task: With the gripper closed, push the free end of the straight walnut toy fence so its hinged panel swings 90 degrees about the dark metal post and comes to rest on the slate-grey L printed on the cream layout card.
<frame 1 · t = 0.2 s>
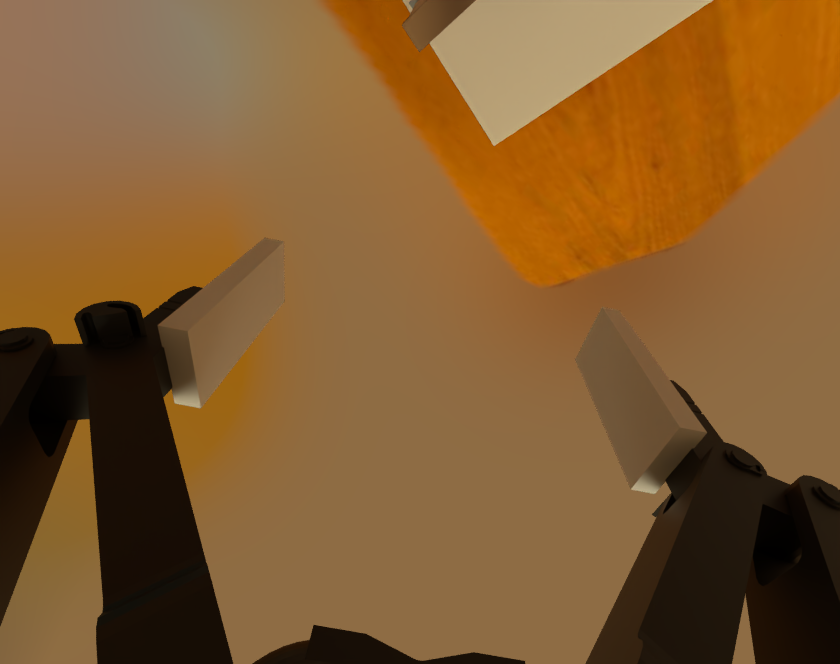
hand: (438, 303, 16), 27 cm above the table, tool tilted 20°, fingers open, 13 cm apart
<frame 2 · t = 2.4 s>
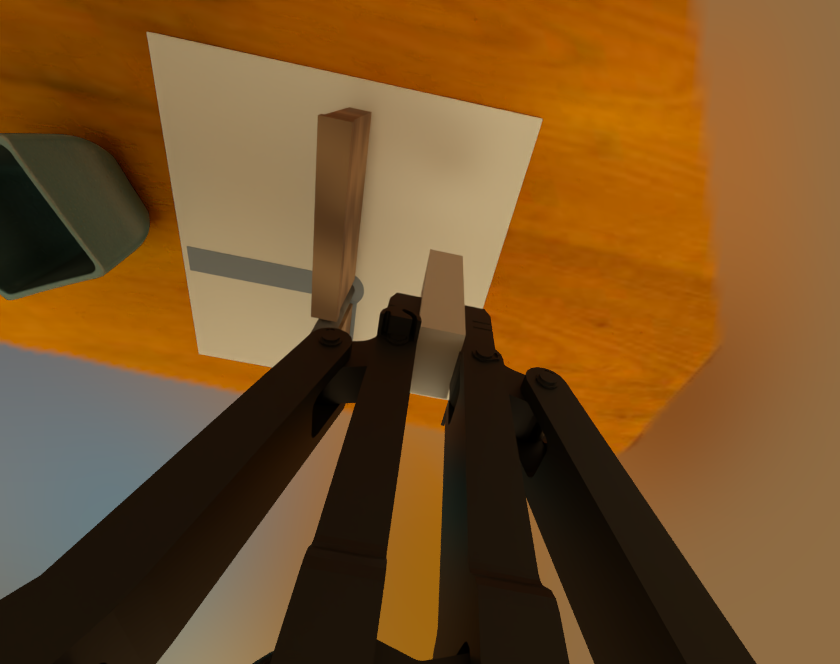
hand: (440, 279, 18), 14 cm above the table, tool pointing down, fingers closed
flower pot: (110, 191, 32), on the table
fence panel: (341, 216, 27), point 5 cm above the table, hinge at 0.0°
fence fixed: (345, 288, 34), resting on layout card
layout card: (339, 255, 33), on the table
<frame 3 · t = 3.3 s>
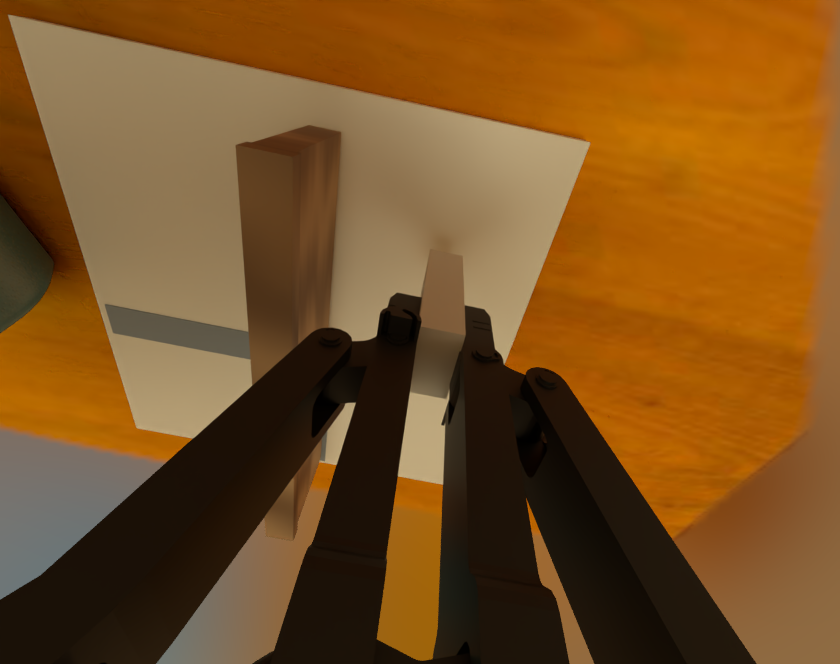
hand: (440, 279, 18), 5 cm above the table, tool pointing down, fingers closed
flower pot: (1, 232, 24), on the table
fence panel: (298, 281, 18), point 5 cm above the table, hinge at 0.0°
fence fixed: (316, 358, 26), resting on layout card
layout card: (307, 316, 25), on the table
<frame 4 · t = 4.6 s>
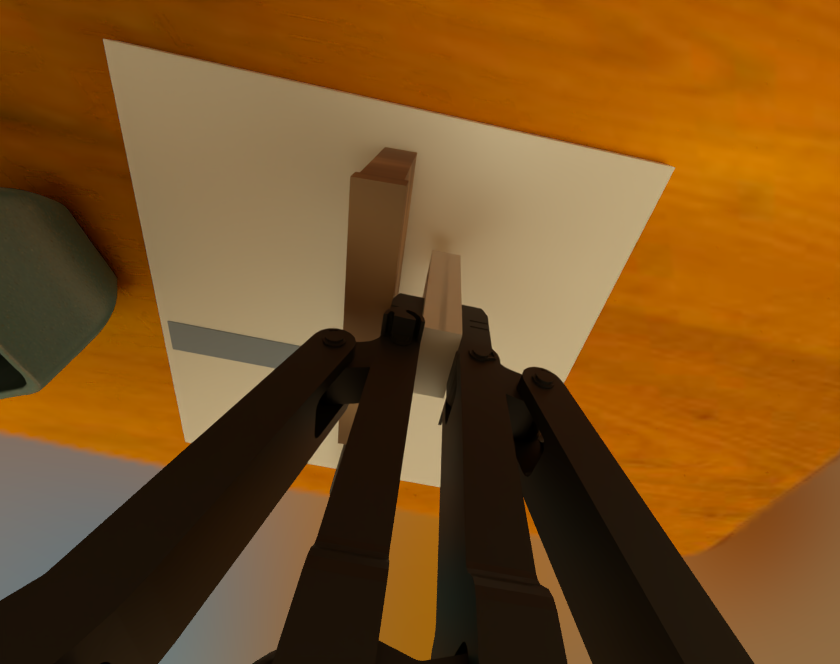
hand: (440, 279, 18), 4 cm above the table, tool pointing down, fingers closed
flower pot: (65, 249, 24), on the table
fence panel: (377, 302, 19), point 5 cm above the table, hinge at 2.5°, touching gripper
layout card: (369, 332, 25), on the table
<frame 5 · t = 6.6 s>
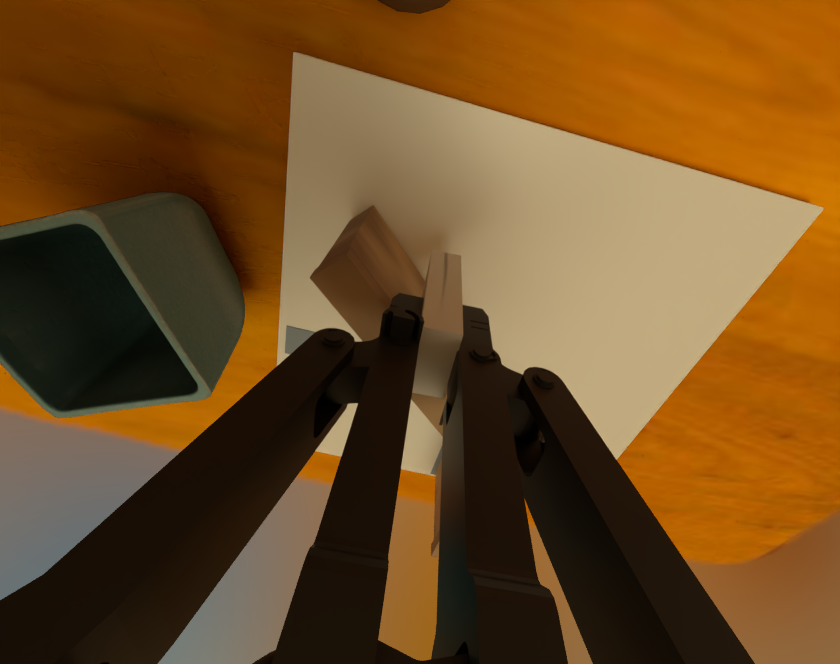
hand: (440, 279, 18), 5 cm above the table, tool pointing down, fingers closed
flower pot: (189, 250, 24), on the table
fence panel: (422, 336, 20), point 5 cm above the table, hinge at 46.2°, touching gripper
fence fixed: (484, 385, 26), resting on layout card
layout card: (481, 344, 26), on the table
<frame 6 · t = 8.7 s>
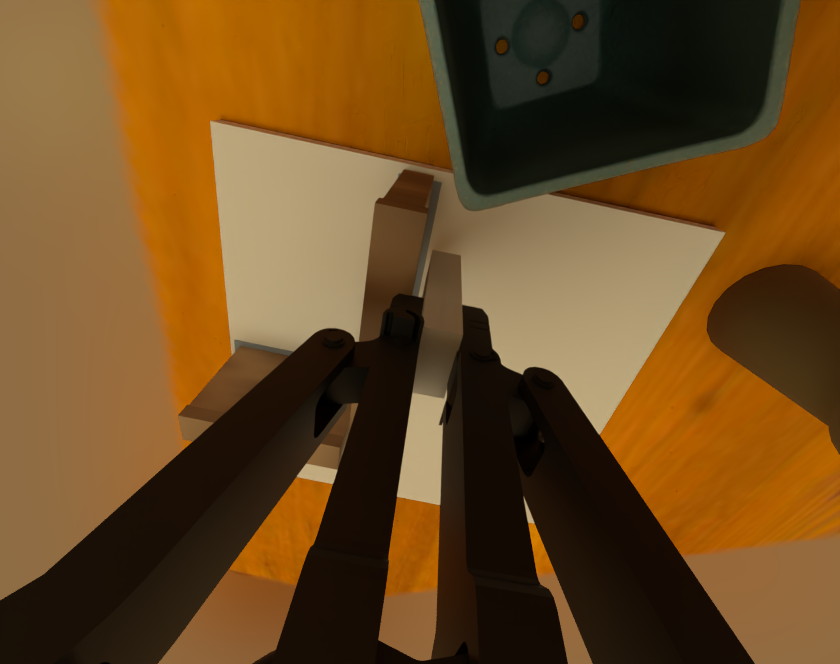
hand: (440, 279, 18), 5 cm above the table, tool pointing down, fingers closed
flower pot: (539, 37, 17), on the table
cork: (762, 311, 23), on the table
fence panel: (390, 316, 19), point 5 cm above the table, hinge at 90.3°, touching gripper
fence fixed: (383, 382, 27), resting on layout card
layout card: (423, 369, 27), on the table
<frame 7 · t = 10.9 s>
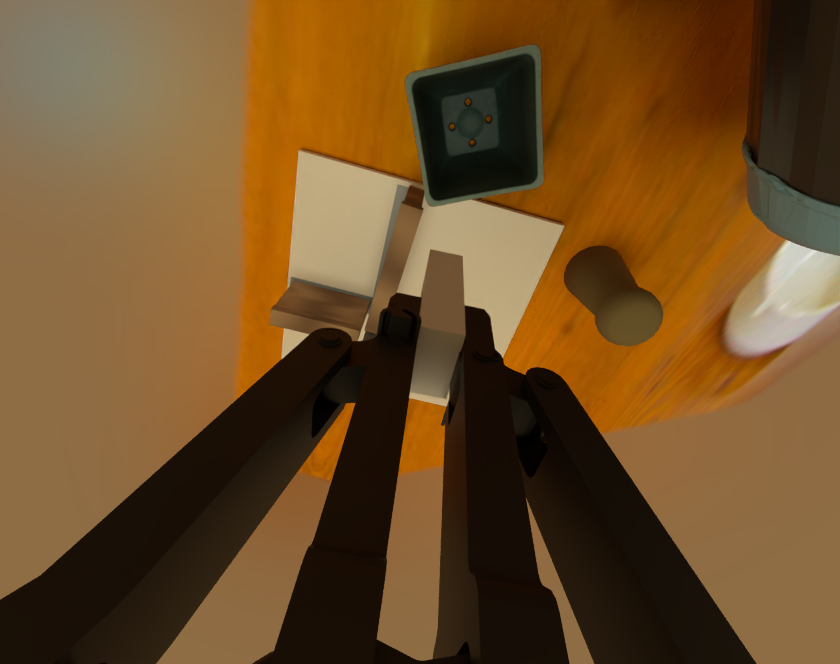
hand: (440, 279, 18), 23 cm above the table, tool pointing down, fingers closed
flower pot: (470, 123, 35), on the table
cork: (592, 272, 42), on the table
fence panel: (395, 261, 37), point 5 cm above the table, hinge at 86.7°
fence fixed: (380, 308, 44), resting on layout card
layout card: (404, 302, 44), on the table
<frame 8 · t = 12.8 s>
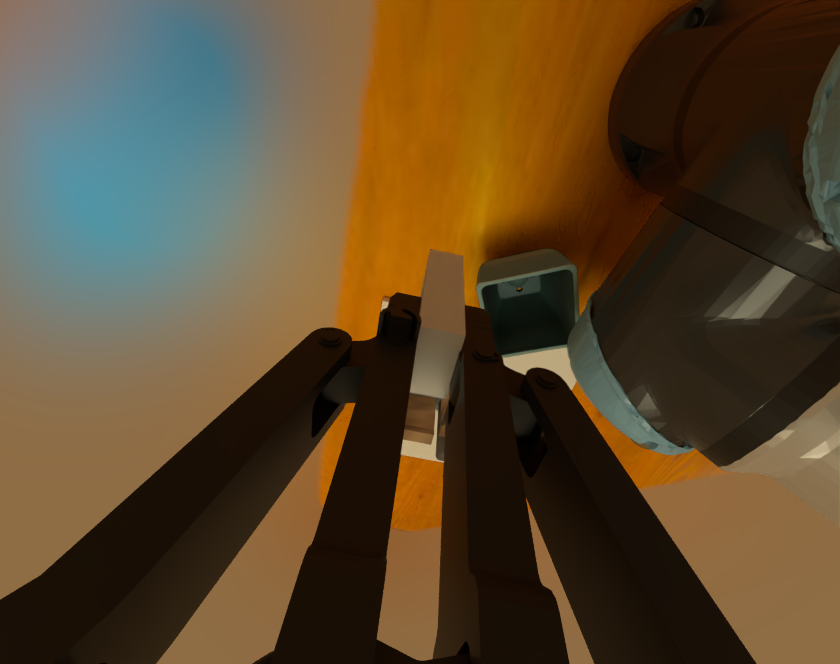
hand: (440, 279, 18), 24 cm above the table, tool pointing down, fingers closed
flower pot: (517, 275, 44), on the table
fence panel: (460, 380, 46), point 5 cm above the table, hinge at 86.7°
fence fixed: (444, 403, 54), resting on layout card
layout card: (463, 396, 54), on the table
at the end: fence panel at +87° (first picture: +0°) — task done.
